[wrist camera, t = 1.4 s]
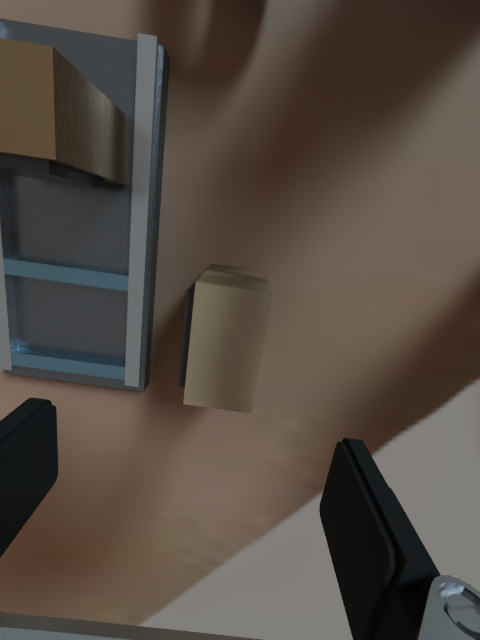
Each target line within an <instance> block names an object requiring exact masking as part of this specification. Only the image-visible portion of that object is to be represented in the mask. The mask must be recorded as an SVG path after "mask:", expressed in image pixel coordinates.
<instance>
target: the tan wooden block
mask: <svg viewBox="0 0 480 640" xmlns="http://www.w3.org/2000/svg"><path fill="white" fill-rule="evenodd" d="M271 295H272V292H271V290H270V287H269V285H268V283H267V280H266V278H265V275H264V273H263V271H257V270H250V269H243V268H236V267H229V266H222V265H216V264H211V265H210V266H209V267H208V268H207V270H206V271H205V272H204V273H203V274H202V275H201V276H200V277H199V278H198V279H197V280H196V281H195V282H194V283H193V285H192V286H191V287H190V288H189V289H188V290H187V291H186V300H185V311H184V322H183V332H182V343H181V354H180V365H179V375H178V386H182V387H185V392H184V401H183V404H185V405H193V406H200V407H208V408H216V409H223V410H231V411H239V412H246V413H251V409H252V404H253V398H254V392H255V386H256V381H257V375H258V369H259V363H260V358H261V352H262V346H263V340H264V335H265V329H266V323H267V318H268V312H269V306H270V300H271Z"/></svg>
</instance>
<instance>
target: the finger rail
mask: <svg viewBox="0 0 480 640" xmlns="http://www.w3.org/2000/svg"><path fill="white" fill-rule="evenodd" d="M169 59H170V58H169V55H168V53H167V51H166V49H165V46H164V45H161V44H160V42H159V39H158V37H157V36H153V35H147V34H141V33H138V41H134V40H128V39H122V38H116V37H109V36H103V35H97V34H91V33H85V32H79V31H73V30H67V29H61V28H54V27H48V26H42V25H36V24H30V23H24V22H18V21H12V20H6V19H0V369H4V371H5V373H6V374H13V375H21V376H28V377H36V378H44V379H51V380H59V381H66V382H74V383H82V384H89V385H97V386H104V387H112V388H119V389H127V390H135V391H142V392H144V391H145V389H146V387H147V386H148V384H149V375H150V359H151V343H152V328H153V312H154V296H155V280H156V264H157V249H158V233H159V217H160V201H161V186H162V170H163V154H164V138H165V122H166V107H167V91H168V75H169Z"/></svg>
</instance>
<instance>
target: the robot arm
mask: <svg viewBox="0 0 480 640" xmlns="http://www.w3.org/2000/svg"><path fill="white" fill-rule="evenodd" d="M57 476H58V449H57V416H56V407H55V406H54V405H52V403H51V401H50V400H45V399H38V398H29V399H27V400H26V401H25V402H23V403H22V404H21V405H20V406H18V407H17V408H16V409H15V410H14V411H12V412H11V413H10V414H9V415H7V416H6V417H5V418H4V419H2V420H1V421H0V557H1V556H2V555H3V553H4V552H5V550H6V549H7V548H8V546H9V545H10V544H11V542H12V541H13V539H14V538H15V537H16V535H17V534H18V533H19V531H20V530H21V529H22V527H23V526H24V524H25V523H26V522H27V520H28V519H29V518H30V516H31V515H32V514H33V512H34V511H35V509H36V508H37V507H38V505H39V504H40V503H41V501H42V500H43V499H44V497H45V496H46V494H47V493H48V492H49V490H50V489H51V488H52V486H53V485H54V483H55V481H56V479H57ZM320 517H321V521H322V525H323V528H324V532H325V536H326V539H327V543H328V547H329V551H330V555H331V558H332V562H333V566H334V570H335V573H336V577H337V581H338V584H339V588H340V592H341V596H342V600H343V603H344V607H345V610H346V615H347V618H348V622H349V626H350V629H351V633H352V637H353V640H480V592H479V591H478V590H476V589H475V588H474V587H472V586H471V585H470V584H468V583H466V582H464V581H462V580H461V579H459V578H455V577H452V576H448V575H440V573H439V571H438V570H437V568H436V566H435V565H434V563H433V561H432V559H431V557H430V556H429V554H428V552H427V550H426V549H425V547H424V545H423V543H422V542H421V540H420V538H419V536H418V534H417V533H416V531H415V529H414V527H413V526H412V524H411V522H410V520H409V519H408V517H407V515H406V513H405V512H404V510H403V508H402V506H401V504H400V503H399V501H398V499H397V497H396V496H395V494H394V493H393V491H392V490H391V488H389V487H388V485H387V483H386V481H385V480H384V478H383V476H382V474H381V473H380V471H379V469H378V467H377V465H376V464H375V462H374V460H373V458H372V456H371V455H370V453H369V451H368V449H367V447H366V446H365V444H364V442H363V441H362V440H356V439H348V438H344V439H343V440H342V442H338V443H337V445H336V448H335V451H334V455H333V459H332V462H331V466H330V470H329V473H328V477H327V480H326V484H325V488H324V491H323V495H322V498H321V502H320ZM0 640H259V639H251V638H243V637H234V636H225V635H216V634H207V633H198V632H188V631H179V630H170V629H160V628H151V627H142V626H132V625H123V624H113V623H104V622H94V621H85V620H75V619H65V618H54V617H44V616H34V615H24V614H14V613H4V612H0Z"/></svg>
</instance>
